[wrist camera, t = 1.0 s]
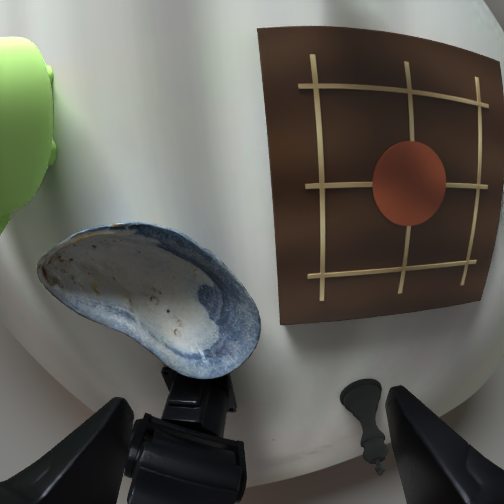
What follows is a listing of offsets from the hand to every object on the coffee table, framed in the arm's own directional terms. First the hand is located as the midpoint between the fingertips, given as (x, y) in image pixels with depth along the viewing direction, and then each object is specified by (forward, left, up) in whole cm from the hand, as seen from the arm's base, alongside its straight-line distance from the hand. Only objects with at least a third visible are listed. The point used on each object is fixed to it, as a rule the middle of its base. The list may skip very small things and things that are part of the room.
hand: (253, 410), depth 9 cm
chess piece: (-17, -9, -13) cm, 23 cm away
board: (+4, -10, -13) cm, 17 cm away
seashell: (-3, +8, -13) cm, 16 cm away
